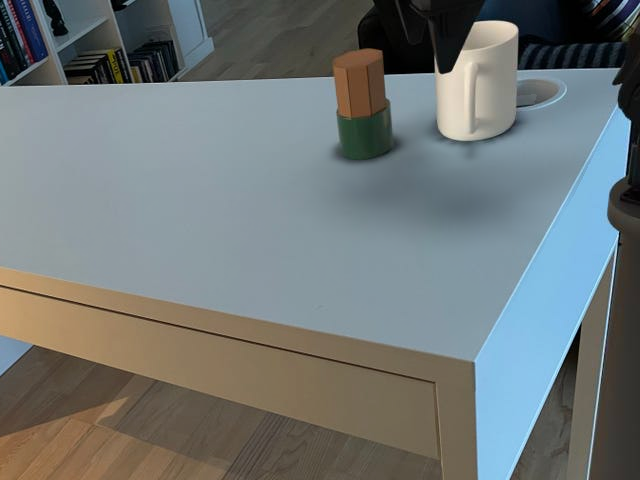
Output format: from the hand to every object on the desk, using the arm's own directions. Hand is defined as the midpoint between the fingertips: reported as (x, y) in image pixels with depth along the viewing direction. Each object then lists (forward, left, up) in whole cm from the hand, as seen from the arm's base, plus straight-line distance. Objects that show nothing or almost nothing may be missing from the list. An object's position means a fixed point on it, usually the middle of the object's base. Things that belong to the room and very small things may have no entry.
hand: (429, 57), depth 73 cm
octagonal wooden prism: (+12, -2, -8) cm, 14 cm away
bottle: (+12, -2, -13) cm, 18 cm away
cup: (+3, -10, -13) cm, 17 cm away
